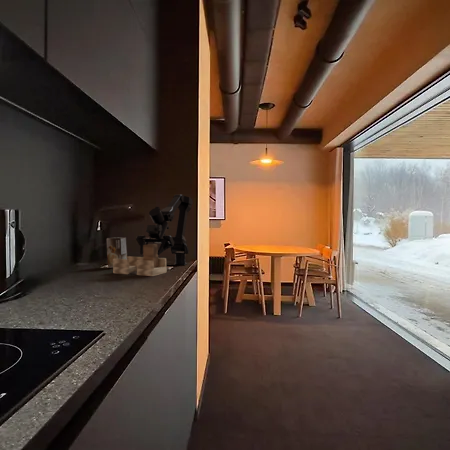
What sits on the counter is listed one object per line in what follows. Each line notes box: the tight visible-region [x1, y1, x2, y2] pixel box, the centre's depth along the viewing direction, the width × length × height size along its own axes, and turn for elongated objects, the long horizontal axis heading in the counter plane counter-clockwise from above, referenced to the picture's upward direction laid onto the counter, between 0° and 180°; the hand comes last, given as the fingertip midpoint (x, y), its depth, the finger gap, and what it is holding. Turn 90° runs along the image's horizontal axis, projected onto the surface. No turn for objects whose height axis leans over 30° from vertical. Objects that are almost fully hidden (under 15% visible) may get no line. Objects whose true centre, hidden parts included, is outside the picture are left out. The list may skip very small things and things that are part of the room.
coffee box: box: [106, 237, 128, 269], centre depth 215 cm, size 9×6×16 cm
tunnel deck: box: [112, 255, 168, 277], centre depth 194 cm, size 24×11×7 cm, turn 64°
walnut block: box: [142, 243, 159, 268], centre depth 190 cm, size 5×5×11 cm
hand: (149, 254), depth 189 cm, fingers open, 9 cm apart
